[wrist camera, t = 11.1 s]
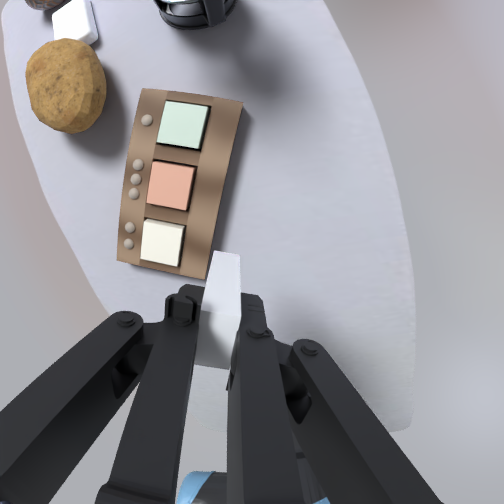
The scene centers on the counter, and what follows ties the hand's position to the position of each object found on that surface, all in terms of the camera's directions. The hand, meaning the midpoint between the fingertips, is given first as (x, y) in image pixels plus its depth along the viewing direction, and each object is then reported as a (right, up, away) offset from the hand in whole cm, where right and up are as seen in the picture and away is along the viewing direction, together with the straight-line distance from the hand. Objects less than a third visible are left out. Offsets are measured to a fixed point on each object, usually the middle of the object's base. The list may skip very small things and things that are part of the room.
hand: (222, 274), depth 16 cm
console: (-7, +9, +14) cm, 18 cm away
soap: (-22, +31, +5) cm, 38 cm away
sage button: (-5, +15, +11) cm, 20 cm away
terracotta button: (-7, +9, +14) cm, 18 cm away
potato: (-19, +21, +9) cm, 30 cm away
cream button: (-8, +3, +16) cm, 18 cm away
